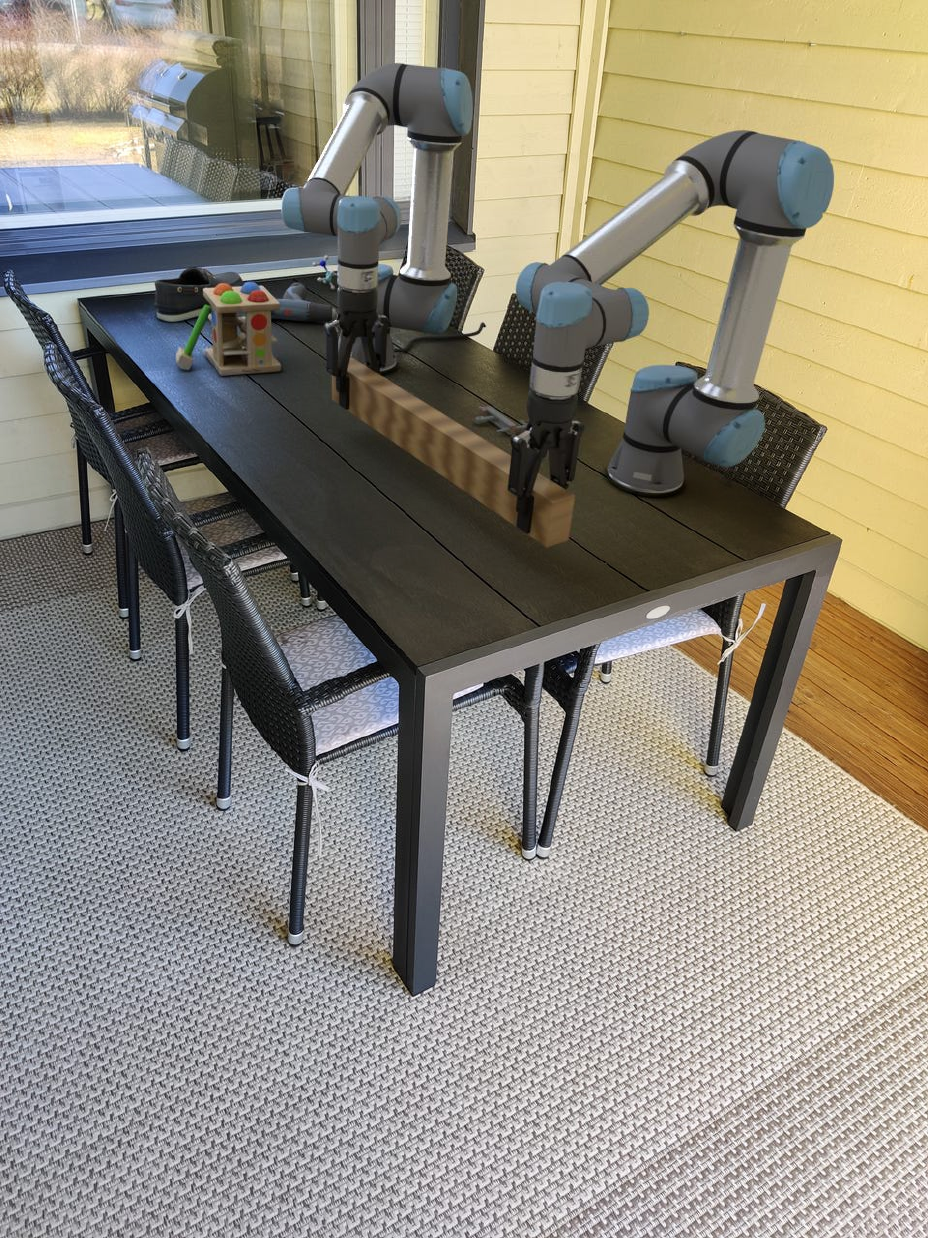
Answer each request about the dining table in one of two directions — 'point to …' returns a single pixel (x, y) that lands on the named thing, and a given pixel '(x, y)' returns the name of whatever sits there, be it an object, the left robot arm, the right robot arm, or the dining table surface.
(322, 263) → the molecular model
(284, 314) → the power drill
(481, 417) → the clamp
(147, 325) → the dining table surface
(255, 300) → the pounding bench toy
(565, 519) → the beam
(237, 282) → the boat shoe
